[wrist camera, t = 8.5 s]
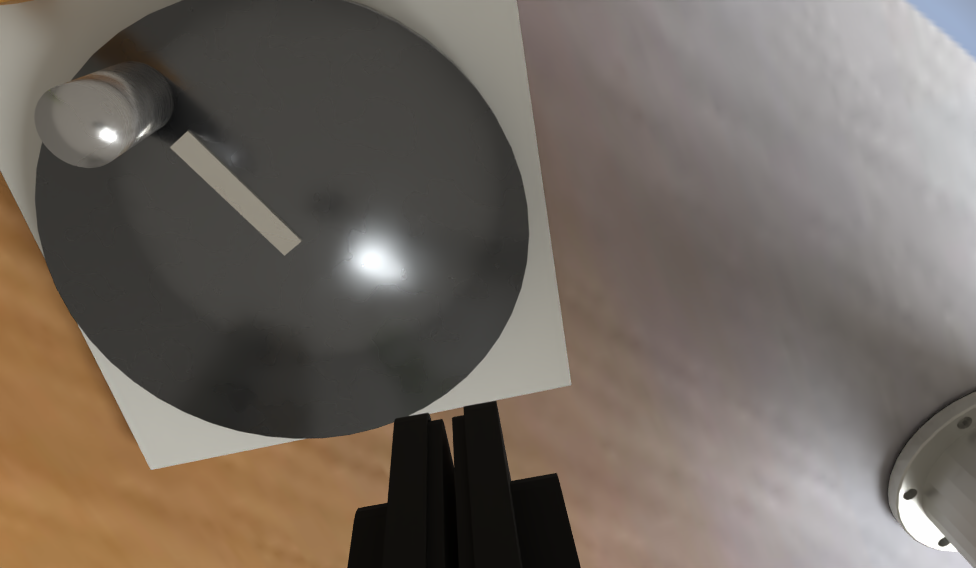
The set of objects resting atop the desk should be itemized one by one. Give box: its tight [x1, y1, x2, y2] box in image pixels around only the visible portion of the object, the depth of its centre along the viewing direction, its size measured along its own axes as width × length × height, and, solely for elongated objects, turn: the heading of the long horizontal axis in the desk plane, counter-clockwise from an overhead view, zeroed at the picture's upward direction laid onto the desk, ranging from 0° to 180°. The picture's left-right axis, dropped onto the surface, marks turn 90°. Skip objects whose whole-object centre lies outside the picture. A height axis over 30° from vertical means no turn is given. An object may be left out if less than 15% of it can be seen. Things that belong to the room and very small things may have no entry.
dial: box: [34, 0, 529, 439], centre depth 27 cm, size 20×20×6 cm
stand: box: [0, 0, 571, 470], centre depth 29 cm, size 22×24×5 cm
